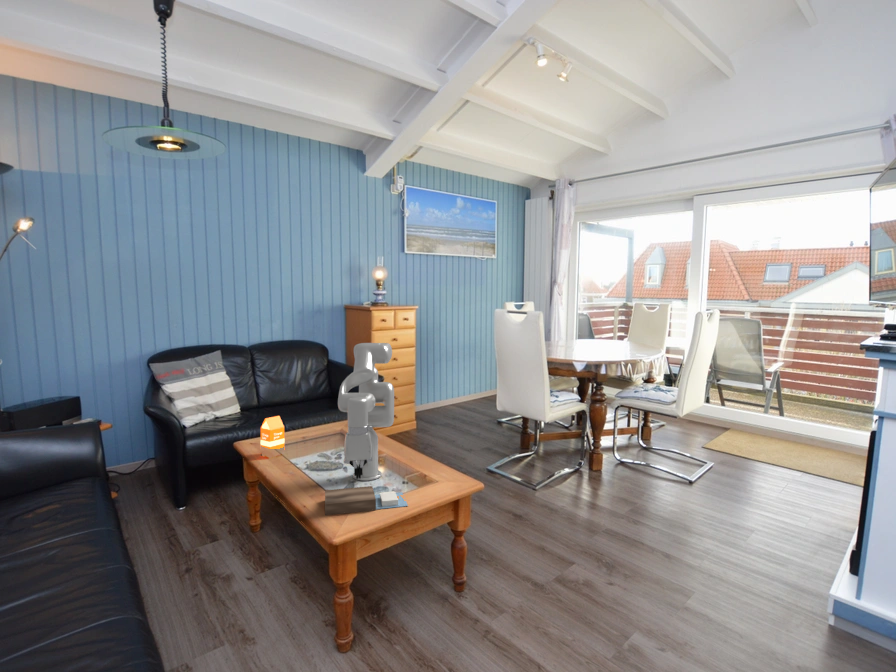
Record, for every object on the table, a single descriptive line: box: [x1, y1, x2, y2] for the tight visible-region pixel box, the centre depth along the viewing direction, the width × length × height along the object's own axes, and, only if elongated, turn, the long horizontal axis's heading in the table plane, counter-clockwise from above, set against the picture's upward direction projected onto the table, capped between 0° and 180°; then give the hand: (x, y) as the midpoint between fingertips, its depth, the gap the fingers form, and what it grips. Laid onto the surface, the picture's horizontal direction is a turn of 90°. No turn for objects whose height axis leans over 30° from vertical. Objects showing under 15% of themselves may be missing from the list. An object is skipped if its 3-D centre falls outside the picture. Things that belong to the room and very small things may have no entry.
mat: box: [375, 491, 409, 511], centre depth 176 cm, size 14×12×1 cm
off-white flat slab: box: [379, 490, 398, 507], centre depth 174 cm, size 9×6×2 cm, turn 14°
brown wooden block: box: [324, 485, 376, 516], centre depth 171 cm, size 14×18×4 cm
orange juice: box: [260, 415, 286, 449], centre depth 235 cm, size 8×9×20 cm
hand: (358, 477), depth 173 cm, fingers closed
